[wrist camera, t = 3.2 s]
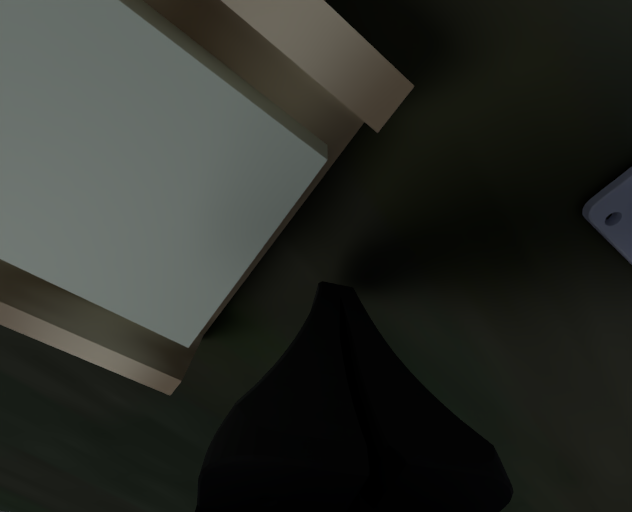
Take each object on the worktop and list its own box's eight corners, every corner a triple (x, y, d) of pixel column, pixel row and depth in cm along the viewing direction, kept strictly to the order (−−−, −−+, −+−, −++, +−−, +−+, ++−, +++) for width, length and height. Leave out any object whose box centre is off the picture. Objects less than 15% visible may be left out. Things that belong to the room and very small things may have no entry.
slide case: (390, 83, 9) (414, 86, 7) (196, 341, 15) (170, 395, 13) (-127, -394, 6) (-513, -792, 3) (-114, 191, 12) (-240, 224, 9)
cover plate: (327, 145, 10) (327, 160, 8) (205, 313, 14) (188, 348, 12) (27, -90, 7) (-66, -142, 6) (-18, 198, 11) (-80, 220, 9)
